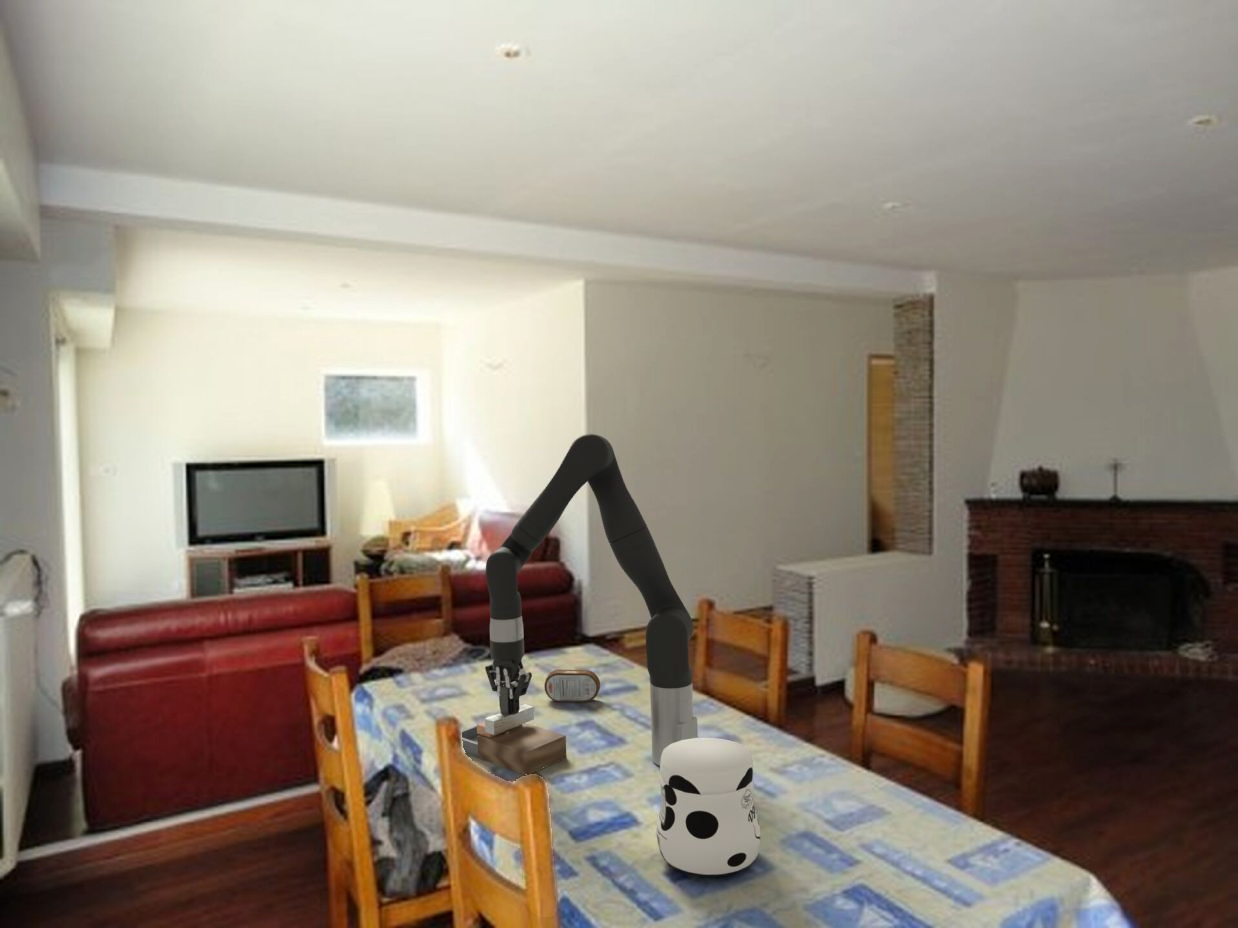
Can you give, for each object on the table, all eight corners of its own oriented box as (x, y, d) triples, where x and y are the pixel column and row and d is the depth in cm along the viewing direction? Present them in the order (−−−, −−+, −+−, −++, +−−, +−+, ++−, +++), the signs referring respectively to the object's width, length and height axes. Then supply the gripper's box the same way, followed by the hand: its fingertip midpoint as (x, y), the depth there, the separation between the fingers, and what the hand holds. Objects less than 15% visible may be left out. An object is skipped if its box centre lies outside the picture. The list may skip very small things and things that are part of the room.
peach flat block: (505, 731, 189) (505, 722, 189) (490, 737, 185) (489, 728, 185) (492, 727, 192) (491, 718, 192) (477, 732, 188) (476, 724, 188)
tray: (519, 740, 196) (518, 728, 196) (478, 757, 187) (477, 744, 187) (491, 731, 203) (491, 719, 203) (450, 747, 193) (449, 734, 193)
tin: (600, 699, 225) (599, 668, 225) (599, 703, 222) (598, 671, 222) (546, 699, 227) (545, 668, 226) (543, 703, 223) (542, 672, 223)
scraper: (533, 719, 191) (532, 680, 191) (494, 734, 182) (492, 694, 182) (524, 716, 193) (523, 678, 193) (485, 731, 184) (483, 691, 184)
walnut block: (566, 757, 185) (565, 735, 185) (526, 775, 176) (526, 752, 176) (517, 741, 196) (517, 720, 196) (478, 757, 187) (477, 735, 186)
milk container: (782, 859, 139) (779, 753, 138) (712, 900, 128) (709, 785, 127) (706, 824, 152) (703, 727, 151) (636, 858, 141) (633, 754, 140)
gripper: (540, 637, 185) (543, 713, 186) (498, 629, 194) (501, 701, 195) (515, 644, 180) (518, 723, 180) (473, 635, 189) (476, 710, 189)
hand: (509, 711), depth 188 cm, fingers closed on scraper, 2 cm apart
